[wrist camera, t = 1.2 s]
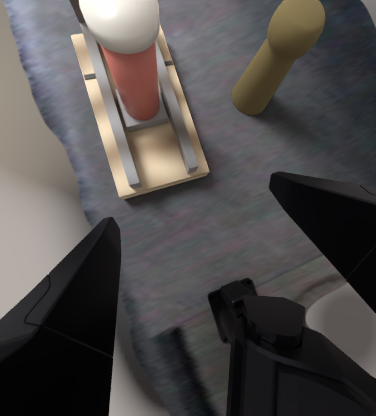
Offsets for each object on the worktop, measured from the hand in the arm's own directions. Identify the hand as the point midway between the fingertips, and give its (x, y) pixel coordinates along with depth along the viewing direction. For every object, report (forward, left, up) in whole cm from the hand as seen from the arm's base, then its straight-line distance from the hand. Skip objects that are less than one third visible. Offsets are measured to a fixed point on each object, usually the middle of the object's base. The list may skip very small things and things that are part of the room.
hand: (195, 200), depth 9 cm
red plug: (+14, 0, -12) cm, 18 cm away
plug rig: (+15, 0, -14) cm, 21 cm away
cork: (+14, -17, -14) cm, 26 cm away
